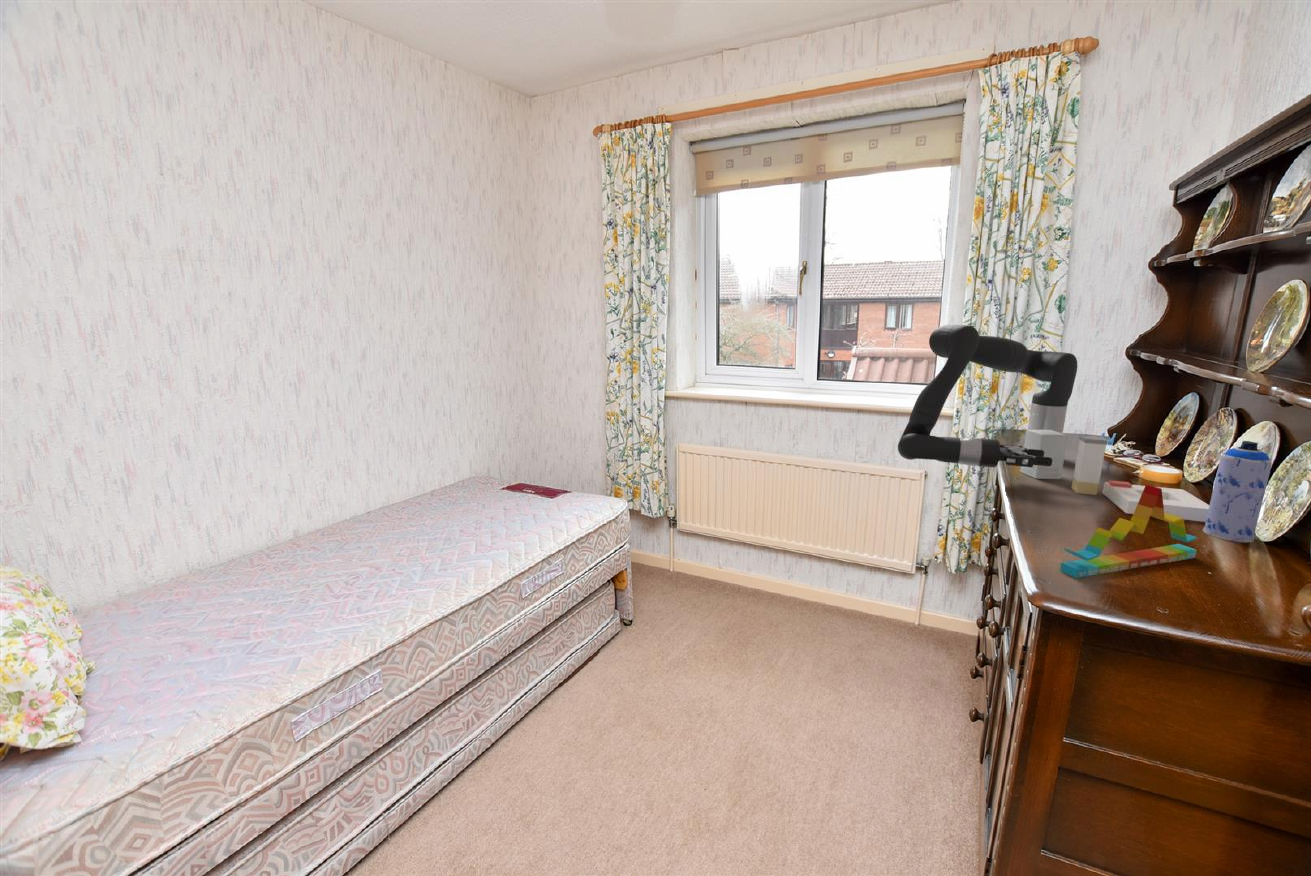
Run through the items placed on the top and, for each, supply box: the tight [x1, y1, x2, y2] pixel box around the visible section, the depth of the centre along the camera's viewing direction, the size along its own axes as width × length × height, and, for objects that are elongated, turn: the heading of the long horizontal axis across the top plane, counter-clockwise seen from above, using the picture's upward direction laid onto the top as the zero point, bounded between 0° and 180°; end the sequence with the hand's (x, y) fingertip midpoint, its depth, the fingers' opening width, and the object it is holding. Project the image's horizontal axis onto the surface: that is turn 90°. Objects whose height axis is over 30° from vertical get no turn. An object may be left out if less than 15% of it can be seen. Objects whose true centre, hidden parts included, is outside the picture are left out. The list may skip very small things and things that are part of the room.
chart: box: [1059, 484, 1198, 579], centre depth 106 cm, size 30×3×15 cm, turn 107°
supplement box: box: [1019, 429, 1069, 480], centre depth 163 cm, size 7×7×13 cm
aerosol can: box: [1202, 440, 1273, 543], centre depth 120 cm, size 8×8×20 cm
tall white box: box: [1071, 434, 1108, 496], centre depth 149 cm, size 5×5×14 cm
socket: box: [1102, 480, 1210, 523], centre depth 138 cm, size 16×16×4 cm
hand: (1047, 458), depth 152 cm, fingers open, 8 cm apart
